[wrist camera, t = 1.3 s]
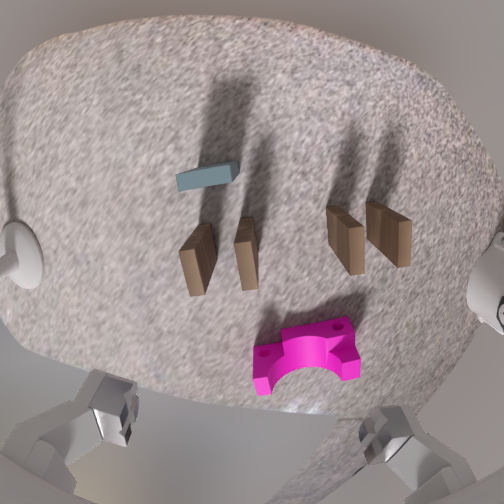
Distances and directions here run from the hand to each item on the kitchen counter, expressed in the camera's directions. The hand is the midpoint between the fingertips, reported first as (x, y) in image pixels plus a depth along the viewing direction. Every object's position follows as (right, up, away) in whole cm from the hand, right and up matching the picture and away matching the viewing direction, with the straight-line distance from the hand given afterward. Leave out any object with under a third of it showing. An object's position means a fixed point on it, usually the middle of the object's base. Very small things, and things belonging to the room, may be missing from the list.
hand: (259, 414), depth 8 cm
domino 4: (+10, +9, +28) cm, 31 cm away
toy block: (+8, -9, +35) cm, 37 cm away
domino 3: (-1, +7, +29) cm, 30 cm away
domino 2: (-6, +7, +29) cm, 31 cm away
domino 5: (+16, +9, +28) cm, 33 cm away
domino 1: (-4, +15, +26) cm, 31 cm away
